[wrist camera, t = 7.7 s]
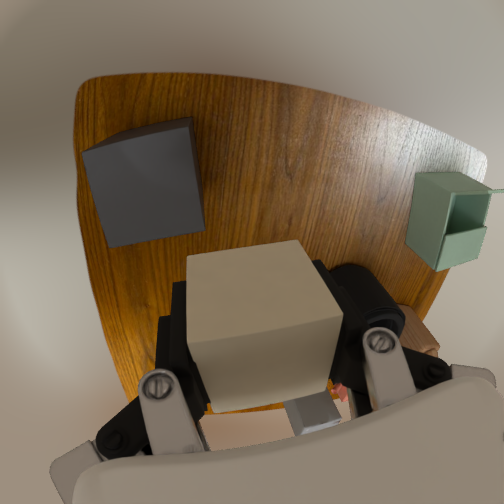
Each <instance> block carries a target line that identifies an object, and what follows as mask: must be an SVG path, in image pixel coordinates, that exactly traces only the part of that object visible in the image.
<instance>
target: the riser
mask: <svg viewBox="0 0 504 504" xmlns="http://www.w3.org/2000/svg"><path fill="white" fill-rule="evenodd" d="M82 157H83V162H84V166H85V170H86V174H87V178H88V181H89V185H90V189H91V192H92V196H93V199H94V203H95V206H96V209H97V212H98V216H99V219H100V222H101V225H102V228H103V231H104V234H105V237H106V240H107V243H108V245H109V248H114V247H119V246H124V245H129V244H134V243H139V242H145V241H150V240H155V239H161V238H166V237H172V236H177V235H183V234H189V233H195V232H200V231H205V217H204V203H203V188H202V181H201V175H200V168H199V162H198V155H197V148H196V141H195V134H194V127H193V120H192V117H187V118H181V119H176V120H170V121H165V122H161V123H156V124H151V125H147V126H143V127H138V128H134V129H130V130H126V131H122V132H119V133H117V134H115V135H113V136H111V137H109V138H107V139H105V140H103V141H101V142H99V143H98V144H96V145H94V146H92V147H90V148H89V149H87V150H85V151H83V152H82Z"/></svg>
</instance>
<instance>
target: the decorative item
mask: <svg viewBox="0 0 504 504" xmlns="http://www.w3.org/2000/svg"><path fill="white" fill-rule="evenodd" d="M397 305H398V306H399V307H400V309H401V310H402V311H403V313H404V314H405V316H406V320H405V326H404V329H403V331H402V334H401V336H400V338H399V342H400V344H401V346H403V347H406V348H409V349H412V350H415V351H419V352H422V353H425V354H428V355H431V356H434V357H437V358H438V352H437V351H438V350H439V348H440V345H439V343H438V342H437V341H436V340H435V338H434V337H433V335H432V334H431V333H430V331H429V330H428V329H427V328H426V326H425V325H424V324H423V322H422V321H421V320H420V319H419V317H418V316H417V315H416V314H415V312H414V311H413V310H412V309H411V307H410V306H405V305H399V304H397Z"/></svg>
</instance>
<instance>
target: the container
mask: <svg viewBox="0 0 504 504" xmlns="http://www.w3.org/2000/svg"><path fill="white" fill-rule="evenodd" d="M482 190H492V189H491V188H489V187H487V186H485V185H483V184H482V183H480V182H478V181H476V180H474V179H472V178H470V177H469V176H467V175H465V174H463V173H461V172H428V173H416V174H415V183H414V191H413V198H412V205H411V212H410V218H409V224H408V229H407V234H406V240H405V244H406V245H407V246H409V247H410V248H411V249H412V250H413V251H414V252H415V253H416V254H417V255H418V256H419V257H421V258H422V259H423V260H424V261H425V262H426V263H427V264H428V265H429V266H430V267H431V268H432V269H435V271H436V272H438V271H441V270H444V269H447V268H450V267H453V266H456V265H459V264H462V263H465V262H468V261H471V260H474V259H476V258H478V255H479V253H480V249H481V246H482V243H483V240H484V236H485V233H486V229H487V227H486V226H484V224H485V220H486V216H487V212H488V208H489V204H490V199H491V194H492V193H491V194H472V195H455V192H468V191H482Z"/></svg>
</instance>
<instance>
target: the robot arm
mask: <svg viewBox="0 0 504 504" xmlns="http://www.w3.org/2000/svg"><path fill="white" fill-rule="evenodd" d="M311 262H312V263H313V265H314V267H315V268H316V270H317V271H318V273H319V275H320V276H321V278H322V279H323V281H324V283H325V284H326V286H327V287H328V289H329V291H330V292H331V294H332V296H333V297H334V299H335V301H336V302H337V304H338V306H339V307H340V309H341V311H342V312H343V319H342V323H341V328H340V333H339V337H338V342H337V346H336V350H335V354H334V359H333V363H332V366H331V370H330V374H329V378H328V379H331V380H332V383H333V385H335V384H339V383H341V384H342V386H345V387H347V395H348V401H349V407H350V413H351V420H350V421H347V422H344V423H341V424H338V425H335V426H331V427H328V428H325V429H321V430H318V431H314V432H311V433H307V434H303V435H299V436H295V437H291V438H287V439H282V440H278V441H274V442H268V443H263V444H258V445H252V446H247V447H240V448H234V449H226V450H219V451H211V450H210V447H209V445H208V442H207V440H206V438H205V435H204V432H203V430H202V427H201V425H200V422H199V420H200V419H201V417H203V415H204V414H205V413H204V411H208V409H207V403H211V401H210V399H209V396H208V394H207V391H206V389H205V386H204V383H203V381H202V378H201V375H200V373H199V370H198V367H197V364H196V362H194V361H193V358H192V356H191V353H190V350H189V347H188V344H187V316H186V287H187V281H180V282H173V288H172V303H171V315H168V316H160V317H159V321H158V332H157V345H156V361H155V369H154V370H152V371H149V372H147V373H146V374H145V375H143V377H142V378H141V379H140V381H139V384H138V394H139V395H138V396H137V397H136V398H135V399H134V400H133V401H132V402H130V403H129V404H128V405H127V406H126V407H125V408H124V409H122V410H121V411H120V412H119V413H118V414H117V415H116V416H114V417H113V418H112V419H111V420H110V421H109V422H108V423H106V424H105V425H104V426H103V427H102V428H101V429H100V430H99V431H98V433H97V436H96V439H95V440H93V441H92V442H91V441H90V440H88V441H86V442H85V443H83V444H81V445H80V446H78V447H76V448H75V449H73V450H71V451H70V452H68V453H66V454H64V455H63V456H61V457H59V458H57V459H55V460H54V461H53V462H52V464H51V466H50V475H51V479H52V481H53V483H54V485H55V487H56V489H57V491H58V493H59V495H60V497H61V499H62V500H63V502H64V504H504V398H503V397H502V395H501V394H500V393H499V392H498V390H497V389H496V380H495V376H494V375H493V373H492V372H491V371H490V370H488V369H485V368H478V367H470V366H463V365H456V364H451V366H448V365H447V363H446V362H444V361H443V360H442V359H440V358H437V357H434V356H431V355H428V354H425V353H422V352H419V351H415V350H412V349H409V348H406V347H403V346H401V344H400V342H399V339H398V337H397V336H396V334H395V333H394V332H392V331H391V330H389V329H387V328H383V327H374V328H371V327H370V326H369V324H368V322H367V321H366V319H365V318H364V316H363V315H362V313H361V312H360V310H359V309H358V307H357V306H356V304H355V303H354V301H353V300H352V298H351V297H350V295H349V294H348V292H347V291H346V289H345V288H344V287H342V286H340V287H338V285H337V284H336V282H335V281H334V279H333V278H332V276H331V275H330V273H329V272H328V270H327V269H326V267H325V266H324V264H323V263H322V261H321V260H314V261H311Z"/></svg>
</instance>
